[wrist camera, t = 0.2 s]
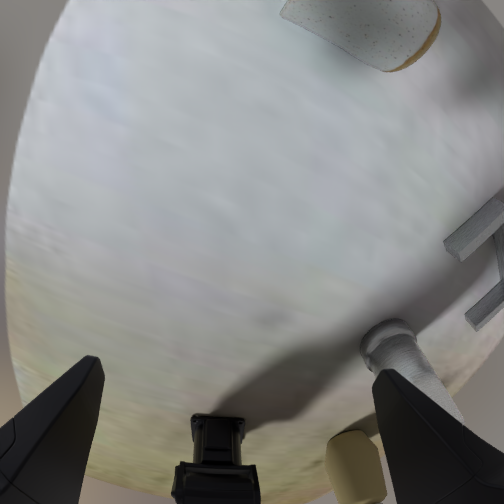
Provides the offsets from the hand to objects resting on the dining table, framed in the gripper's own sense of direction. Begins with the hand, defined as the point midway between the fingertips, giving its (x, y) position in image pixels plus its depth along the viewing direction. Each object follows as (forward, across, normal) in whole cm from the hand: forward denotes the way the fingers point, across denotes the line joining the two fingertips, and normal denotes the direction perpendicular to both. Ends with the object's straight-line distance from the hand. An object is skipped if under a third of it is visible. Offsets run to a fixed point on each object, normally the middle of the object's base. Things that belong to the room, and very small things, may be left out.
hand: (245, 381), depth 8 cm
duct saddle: (+15, -28, +1) cm, 31 cm away
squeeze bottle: (+14, -19, +32) cm, 40 cm away
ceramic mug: (+16, -6, -17) cm, 24 cm away
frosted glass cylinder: (+15, -16, +12) cm, 25 cm away
